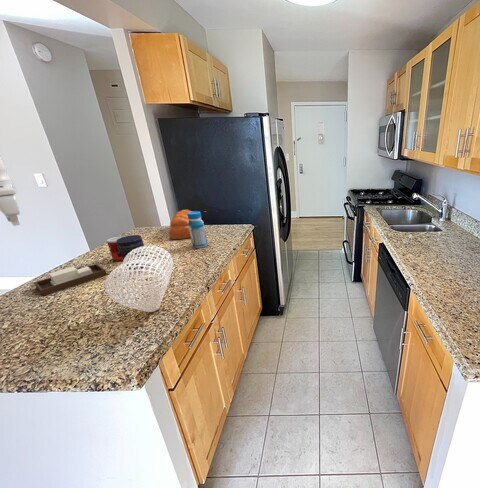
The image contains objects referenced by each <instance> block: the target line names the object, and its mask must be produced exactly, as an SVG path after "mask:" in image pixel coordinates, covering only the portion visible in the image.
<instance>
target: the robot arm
mask: <svg viewBox="0 0 480 488" xmlns="http://www.w3.org/2000/svg"><path fill="white" fill-rule="evenodd" d="M16 192H17V189H16V186H15V184H14V182H13V180H12V178H11V177H10V176H9V174H8V172H7V166H6V164H5V162H4V160H3V158H2V157H1V156H0V212H1V213H2V214H3V215H4V217H5V218H6V220H7V222H9V223H11V224H12V226H14V227H16V226H20V224H21V223H20V221H19V218H18V217H19V216H18V215H20V213H21V211H20V207H19V205H18V204H19V203H18V201H17V199H16V196H15V195H16V194H17V193H16Z"/></svg>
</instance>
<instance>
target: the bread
mask: <svg viewBox="0 0 480 488" xmlns="http://www.w3.org/2000/svg"><path fill="white" fill-rule="evenodd" d="M189 212H193V211H192V210H190V209H182V210H179V211H177V212H176V213H175V214H174V215H173V217H172V219H171V221H170V223H169V229H168V237H169V239H170V240H171V239H172V240H184V239H191V235H190V231H189V226H188V223H189V219H188V215H187V213H189Z"/></svg>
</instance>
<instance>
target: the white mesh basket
mask: <svg viewBox="0 0 480 488" xmlns="http://www.w3.org/2000/svg"><path fill="white" fill-rule="evenodd" d="M144 249H145V250H144ZM137 250H138V251H137ZM141 250H142V251H141ZM135 251H136V252H135ZM132 252H134V253H132ZM139 252H141V253H139ZM142 252H143V253H142ZM135 253H137V255H135ZM138 253H139V254H138ZM132 255H133V256H132ZM139 255H140V257H137V256H139ZM141 255H144V256H142V257H141ZM145 255H147V256H145ZM131 256H132V257H131ZM135 257H136V258H135ZM128 258H129V259H128ZM130 258H131V259H130ZM137 258H139V259H137ZM144 258H146V259H144ZM133 259H135V260H133ZM128 260H129V261H130V262H129V261H128ZM124 262H125V263H124ZM135 262H136V263H135ZM143 262H145V263H143ZM148 263H149V264H148ZM128 264H129V266H127V265H128ZM132 264H134V265H132ZM136 264H139V265H136ZM142 264H143V265H142ZM144 264H145V265H144ZM146 264H147V266H146ZM131 265H132V266H131ZM148 265H149V266H148ZM129 267H131V269H130V270H129ZM132 267H133V268H132ZM136 267H138V269H137V268H136ZM141 267H144V268H143V269H141ZM145 267H146V268H145ZM134 268H135V269H136V270H133V269H134ZM139 268H140V270H139ZM173 268H174V261H173V257H172V255H171V253H170V252H169V251H168V250H166V249H164V248H163V247H161V246H157V245H144V246H142V247H139V248H136V249H134V250H132V251H131V252H129V253H128V254H127V255H126V257H125V258H124V260H123V261H122V263H121V265H119V266H117V267H115V268H114V269H113V270H112V271H111V272H110V273H109V274H107V277H106V279H105V281H104V288H105V291H106V294H107V295H108V296H109V298H110V299H112V301H114V302H115V303H117V304H119V305H121V306H123V307H126V308H129V309H134V310H139V311H142V312H147V313H153V312H156V311H157V310H159V307H160V306H161V303H162V301H163V298H164V296H165V294H166V291H167V288H168V285H169V283H170V279H171V277H172V273H173ZM126 269H127V271H126ZM150 278H151V280H150ZM146 279H147V280H146ZM156 282H157V283H156ZM146 284H147V285H146ZM135 286H136V287H135ZM149 295H150V296H149Z"/></svg>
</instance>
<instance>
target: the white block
mask: <svg viewBox="0 0 480 488" xmlns="http://www.w3.org/2000/svg"><path fill="white" fill-rule="evenodd" d="M84 267H85V268H84ZM84 267H82V268H81V269H80V268H78V270H77V268H76V267H75V266H69V267H66V268H63V269H59V270H57V271H53V272H49V273H48V275H49V278H51V280H52V281H50V282H51V284H52V285H53V286H55V285H58V284H61V283H64V282H67V281H70V280H73V279H76V278H80V277H83V276H86V275H89V274H92V273H93V272H92V270H91V269H90V268H89V267H87V266H84Z"/></svg>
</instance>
